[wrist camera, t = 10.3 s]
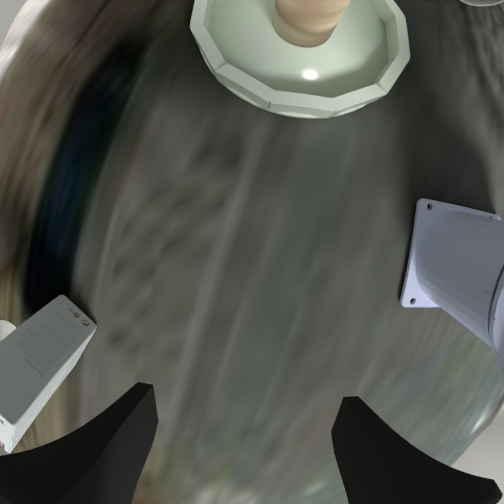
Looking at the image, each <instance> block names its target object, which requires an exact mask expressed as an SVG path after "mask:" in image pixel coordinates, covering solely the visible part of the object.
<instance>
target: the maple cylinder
mask: <svg viewBox="0 0 504 504" xmlns="http://www.w3.org/2000/svg"><path fill="white" fill-rule="evenodd" d="M350 1H351V0H275V5H274V12H273V21H272V23H273V28H274V30H275V32H276V33H277V35H278V36H279V37H280V38H281V39H283V40H284V41H286V42H287V43H289V44H292V45H294V46H298V47H304V48H311V47H317V46H320V45H322V44H324V43H325V42H326V41H328V39H329V38H330V36H331V35H332V33H333V31H334V29H335V27H336V26H337V24H338V22H339V20H340V19H341V17H342V15H343V14H344V12H345V10H346V8H347V7H348V5H349V3H350Z"/></svg>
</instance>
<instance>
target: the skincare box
mask: <svg viewBox="0 0 504 504" xmlns="http://www.w3.org/2000/svg"><path fill="white" fill-rule="evenodd" d="M96 328H97V325H96V324H95V323H94V322H93V321H92V320H91V319H90V318H89V317H87V315H85V314H84V313H83V312H82V311H81V310H80V309H79V308H78V307H77V306H76V305H75V304H74V303H72V302H71V301H70V300H69V299H68V298H67V297H66V296H65V295H59V296H58V297H57V298H55V299H54V300H52V301H51V302H50V303H48V304H47V305H46V306H44V307H43V308H42V309H41V310H39V311H38V312H37V313H35V314H34V315H33V316H32V317H30V318H29V319H28V320H26V321H25V322H24V323H22V324H21V325H20V326H19V327H17V328H16V329H15V330H14V331H12V332H11V333H10V334H9V335H7V336H6V337H5V338H4V339H3V340H2V341H0V446H1V447H2V448H3V449H4V450H5V451H7V452H8V453H11V451H12V450H13V449H14V447H15V446H16V445H17V443H18V442H19V440H20V439H21V437H22V436H23V434H24V433H25V432H26V430H27V429H28V427H29V426H30V425H31V423H32V422H33V420H34V419H35V418H36V416H37V415H38V413H39V412H40V411H41V409H42V408H43V406H44V405H45V404H46V402H47V401H48V400H49V398H50V397H51V396H52V394H53V393H54V392H55V390H56V389H57V388H58V386H59V385H60V384H61V383H62V381H63V380H64V379H65V377H66V376H67V375H68V374H69V372H70V371H71V370H72V368H73V367H74V366H75V365H76V363H77V361H78V359H79V358H80V356H81V354H82V352H83V351H84V349H85V347H86V345H87V344H88V342H89V340H90V339H91V337H92V335H93V334H94V332H95V330H96Z"/></svg>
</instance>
